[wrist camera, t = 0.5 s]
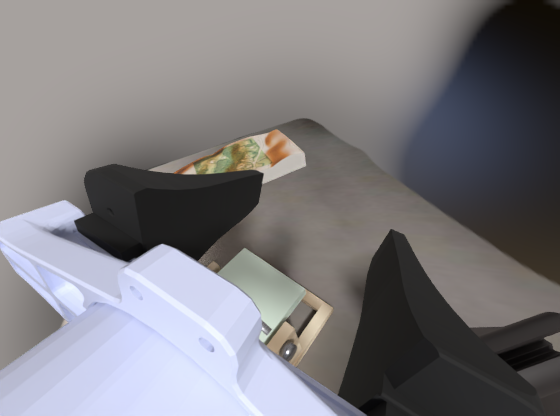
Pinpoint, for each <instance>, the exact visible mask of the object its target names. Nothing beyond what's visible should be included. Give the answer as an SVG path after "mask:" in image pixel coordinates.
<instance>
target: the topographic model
mask: <svg viewBox="0 0 560 416" xmlns="http://www.w3.org/2000/svg"><path fill="white" fill-rule="evenodd" d="M304 166H306V162H305V154H304V152H303V151H302V150H301V149H300V148H299V147H297V146H296V145H295V144H294V143H293V142H292V141H291V140H290V139H289V138H287V137H286V136H285V135H284V134H282V133H281V132H279V131H278V130H277V129H276V130H274V131H272V132H269V133H266V134H262V135H257V136H251V137H248V138H245V139H242V140H239V141H236V142H234V143H232V144H229V145H227V146H225V147H223V148H221V149H220V150H218V151H217V152H215V153H214V154H212V155H208V156H205V157H202V158H200V159H198V160H196V161H194V162H192V163H190V164H188V165H187V166H185V167H183V168H181V169H179V170H178V171H176V172H174V174H212V173H224V172H233V171H241V170H257V171H259V172H262V173H264V176H263V182H262V184H264V183H266V182H268V181H271V180H273V179H276V178H278V177H280V176H283V175H285V174H288V173H290V172H292V171H295V170H297V169H300V168H302V167H304Z"/></svg>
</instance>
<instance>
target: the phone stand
mask: <svg viewBox="0 0 560 416" xmlns="http://www.w3.org/2000/svg"><path fill="white" fill-rule="evenodd" d="M470 329H471V330H472V331H473V332H474V333H475V334H476V335H477V336H478V337H479V338H480V339H481V340H482V341H483V342H484V343H485V344H486V345H487V346H488V347H490V348H491V349H492V350H493V351H494V352H495V353H496V354H497V355H498V356H499V357H500V358H501V359H502V360H504V361H505V362H506V363H507V364H508V365H509V366H510V367H512V368H513V369H514V370H515V371H516V372H517V373H518V374H520V375H521V376H522V377H523V378H524V379H525V380H527V381H528V382H529V383H530V384H531V385H532V386H533V387H535V388H536V390H537V393H538V395H539V397H540V400H541V402H542V405H543V407H544V409H545V412H546V414H547V416H560V352H558V351H555V350H553V346H552V344H551V343H550V342H548V341H546V340H545V339H544V337H547V336H550V335H553V334H555V333H558V332H560V313H555V312H545V313H542V314H539V315H536V316H533V317H530V318H527V319H524V320H522V321H519V322H516V323H513V324H510V325H507V326H505V327H480V328H470Z"/></svg>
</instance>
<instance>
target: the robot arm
mask: <svg viewBox="0 0 560 416" xmlns="http://www.w3.org/2000/svg"><path fill="white" fill-rule="evenodd" d="M263 176H264V173H262V172H259V171H257V170H241V171H233V172H224V173H212V174H174V173H162V172H154V171H148V170H141V169H136V168H131V167H126V166H122V165H117V164H111V165H107V166H104V167H99V168H96V169H92V170H89V171H88V172H87V173H86V175H85V178H84V183H85V188H86V192H87V195H88V198H89V201H90V204H91V208H92V211H93V212H94V213H91V214H89V215H86V216H85V214H84V213H83V211H81V210H80V209H79V208H77V207H76V206H74V205H73V204H71V203H70V202H68V201H66V200H63V201H60V202H57V203H54V204H51V205H48V206H45V207H42V208H39V209H36V210H33V211H30V212H27V213H24V214H21V215H18V216H15V217H12V218H9V219H7V220H3V221H0V250H1V251H2V253H3V254H4V256H5V257H6V258H7V260H8V261H9V263H10V264H11V266H12V267H13V269H14V270H15V271H16V272H17V273H18V274H19V275H20V276H21V277H22V278H23V279H24V280H25V281H26V282H28V283H29V284H30V285H31V286H32V287H33V288H34V289H35V290H36V291H37V292H38V293H39V294H40V295H41V296H42V297H43V298H44V299H45V300H46V301H48V303H49V304H50V305H51V306H52V307H53V308H54V309H55V310H56V311H57V312H58V313H59V314H60V315H61V316H62V317H63V318H64V319H65V320H66V321H67V322H68V323H67V324H66V325H64V326H63V327H61V328H60V329H59V330H57V331H56V332H54V333H53V334H52V335H50V336H49V337H47V338H46V339H44V340H43V341H42V342H40V343H39V344H37V345H36V346H34V347H33V348H31V349H30V350H29V351H27V352H26V353H24V354H23V355H21V356H20V357H19V358H17V359H16V360H14V361H13V362H11V363H10V364H9V365H7V366H6V367H4V368H3V369H1V370H0V416H547V414H546V412H545V409H544V407H543V405H542V402H541V400H540V397H539V395H538V393H537V390H536V388H535V387H533V386H532V385H531V384H530V383H529V382H528V381H527V380H525V379H524V378H523V377H522V376H521V375H520V374H518V373H517V372H516V371H515V370H514V369H513V368H512V367H510V366H509V365H508V364H507V363H506V362H505V361H504V360H502V359H501V358H500V357H499V356H498V355H497V354H496V353H495V352H494V351H493V350H492V349H491V348H490V347H488V346H487V345H486V344H485V343H484V342H483V341H482V340H481V339H480V338H479V337H478V336H477V335H476V334H475V333H474V332H473V331H472V330H471V329H470V328H469V327H468V326H467V325H466V323H465V322H464V321H463V320H462V319H461V318H460V317H459V316H458V315H457V314H456V312H455V311H454V310H453V309H452V308H451V307H450V305H449V304H448V303H447V302H446V301H445V299H444V298H443V297H442V295H441V294H440V293H439V292H438V290H437V289H436V288H435V286H434V285H433V283H432V282H431V280H430V279H429V277H428V276H427V274H426V273H425V271H424V269H423V268H422V266H421V264H420V263H419V261H418V259H417V257H416V256H415V254H414V252H413V250H412V248H411V246H410V244H409V243H408V241H407V239H406V237H405V235H404V234H402V233H399V232H397V231H395V230H392V229H391V230H390V231H389V233H388V235H387V236H386V238H385V239H384V241H383V242H382V244H381V245H380V247H379V249H378V250H377V252H376V253H375V255H374V256H373V258H372V261H371V264H370V267H369V271H368V274H367V280H366V287H365V293H364V300H363V307H362V313H361V318H360V323H359V327H358V330H357V334H356V338H355V341H354V345H353V348H352V351H351V355H350V358H349V362H348V365H347V368H346V371H345V374H344V378H343V381H342V384H341V387H340V390H339V393H338V395H336V394H335V393H333V392H332V391H330V390H329V389H327V388H326V387H325V386H323V385H322V384H320V383H319V382H317V381H316V380H314V379H313V378H311V377H310V376H308V375H307V374H305V373H304V372H302V371H301V370H299V369H298V368H297V367H295V366H294V365H292V364H291V363H289V362H288V361H286V360H285V359H283V358H282V357H280V356H279V355H277V354H276V353H274V352H273V351H271V350H270V349H269V348H268V347H267V346H266V345H265V344H264V343H263V342H262V341H261V340H260V339H259V336H260V333H261V330H262V319H261V313H260V311H259V309H258V307H257V306H256V304H255V303H254V301H253V300H252V298H251V297H250V296H249V295H248V294H246V293H245V292H244V291H243V290H242V289H240V288H239V287H238V286H236V285H235V284H233V283H232V282H230V281H228V280H227V279H225V278H223V277H222V276H220V275H219V274H217V273H215V272H214V271H212V270H211V269H209V268H207V267H206V266H204V265H202V264H201V263H199V262H198V260H199V259H200V258H201V257H202V256H203V255H204V254H205V252H206V251H207V250H208V249H209V248H210V247H211V246H212V245H213V244H214V243H215V242H216V241H217V240H218V239H219V238H220V237H221V236H223V235H224V234H225V233H226V232H228V231H229V230H230V229H231V228H232V227H234V226H235V225H236V224H237V223H239V222H240V221H241V220H242V219H243V218H245V217H246V216H247V215H248V214H249V213H250V212H251V211H252V210H253V209H254V208H255V207H256V205H257V204H258V203H259V198H260V192H261V187H262V182H263Z"/></svg>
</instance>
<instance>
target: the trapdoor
mask: <svg viewBox="0 0 560 416" xmlns="http://www.w3.org/2000/svg"><path fill="white" fill-rule="evenodd" d="M217 274H219V275H220V276H222V277H223V278H225V279H227V280H228V281H230V282H232V283H233V284H235V285H236V286H238V287H239V288H240V289H242V290H243V291H244V292H245V293H246V294H248V295H249V296H250V297H251V298H252V300H253V301H254V303H255V304H256V306H257V307H258V309H259V311H260V313H261V319H262V330H261V333H260V336H259V339H260V340H261V341H262V342H263V343H264V344H265V345H266V346H267V344H268V343H269V342H270V340H271V339H272V338H273V336H274V335H275V334H276V333H277V331H278V330H279V329H280V327H281V326H282V325H283V323H284V322H285V321H286V319H287V318H288V317H289V316H290V314H291V313H292V312H293V310H294V309H295V308H296V306H297V305H298V304H299V302H300V301H301V300H302V299H303V297H304V296H305V295H306V291H305V288H303V287H302V286H300V285H299V284H297V283H296V282H294V281H293V280H291V279H290V278H289V277H287V276H286V275H284V274H283V273H281V272H280V271H278V270H277V269H275V268H274V267H272V266H271V265H269V264H268V263H266V262H265V261H263V260H262V259H261V258H259V257H258V256H256V255H255V254H253V253H252V252H250V251H249V250H247V249H246V248H244V249H243V250H242V251H240V252H239V253H238V254H237V255H236V256H235V257H234V258H233V259H232V260H231V261H230V262H229V263H228V264H227V265H225V266H224V267H223V268H222V269H221V270H220V271H219V272H218V273H217Z"/></svg>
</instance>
